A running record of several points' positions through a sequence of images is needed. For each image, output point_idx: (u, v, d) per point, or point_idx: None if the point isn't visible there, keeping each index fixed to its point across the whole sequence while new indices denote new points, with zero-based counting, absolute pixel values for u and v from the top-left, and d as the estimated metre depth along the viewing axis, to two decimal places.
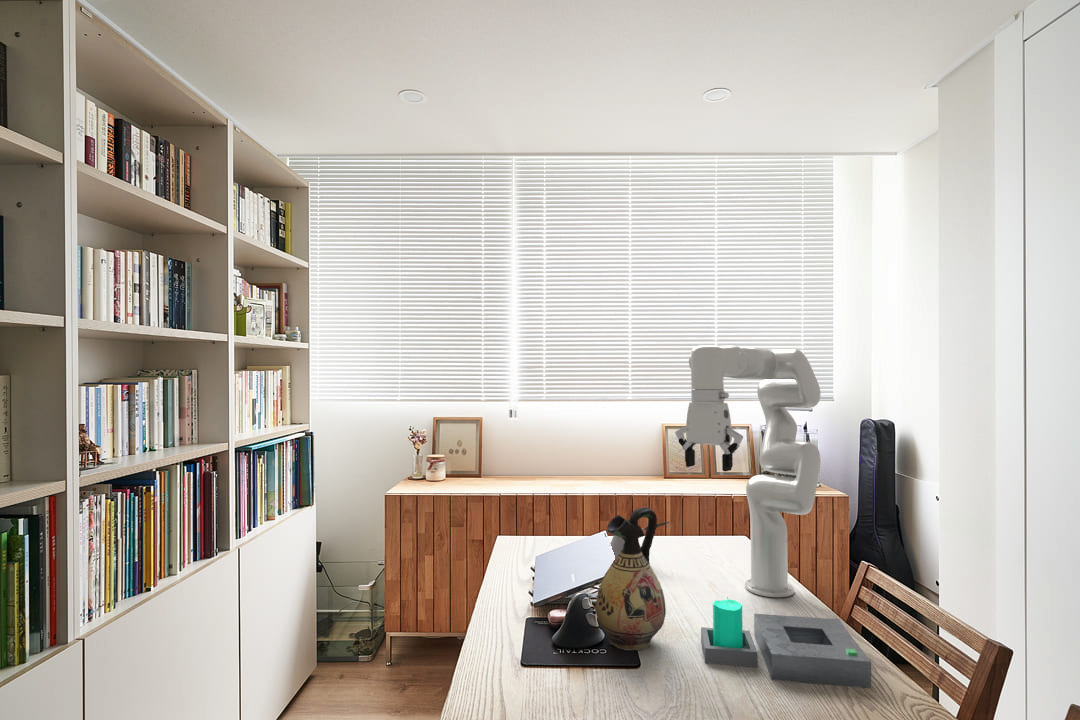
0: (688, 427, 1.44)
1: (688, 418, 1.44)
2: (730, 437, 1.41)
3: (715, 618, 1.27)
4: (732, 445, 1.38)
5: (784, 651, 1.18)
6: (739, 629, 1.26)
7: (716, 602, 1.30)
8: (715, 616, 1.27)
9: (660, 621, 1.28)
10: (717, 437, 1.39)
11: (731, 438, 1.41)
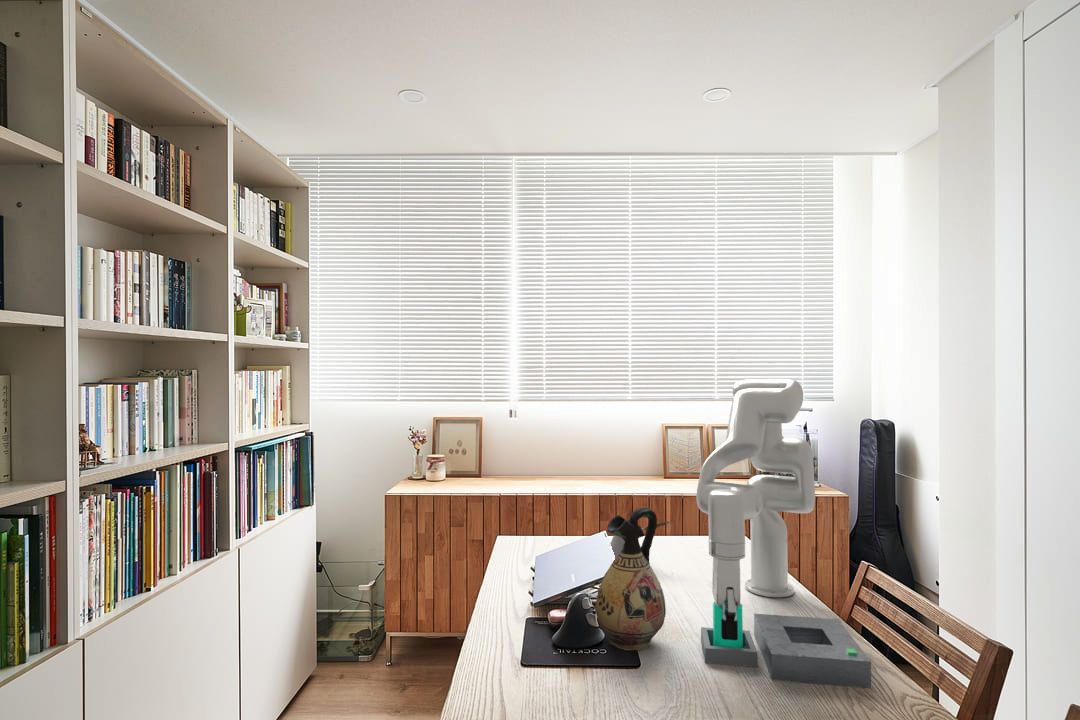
0: None
1: None
2: None
3: (715, 618, 1.27)
4: None
5: (784, 651, 1.18)
6: (739, 629, 1.25)
7: None
8: (715, 616, 1.27)
9: (660, 621, 1.28)
10: None
11: None
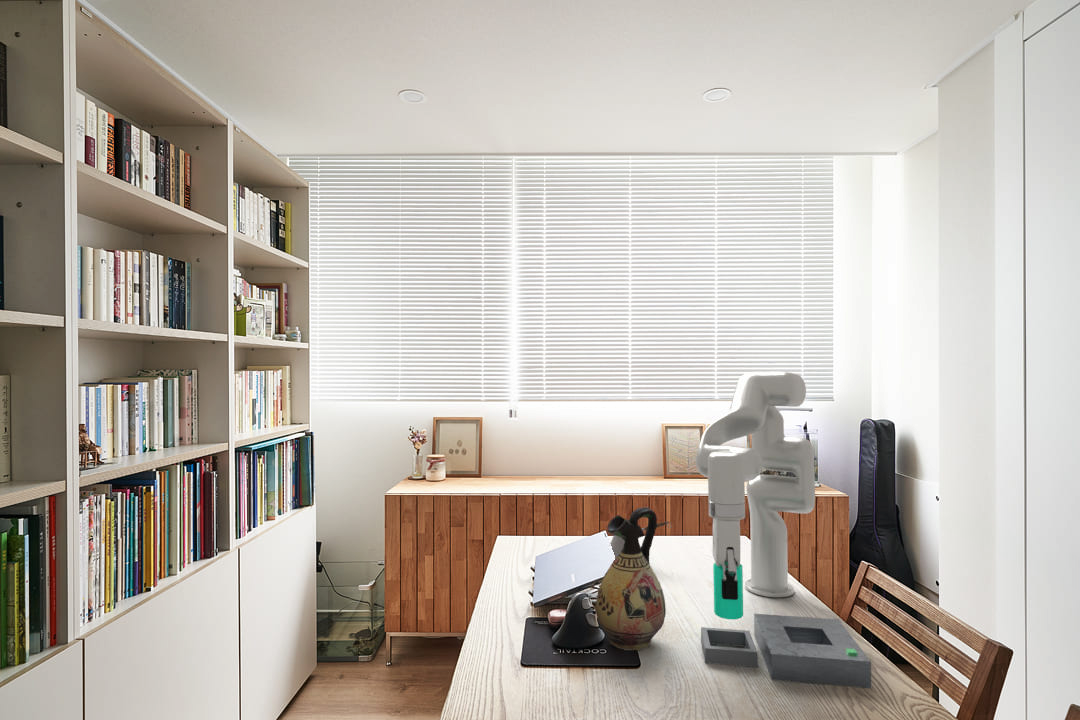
0: None
1: None
2: None
3: (715, 579, 1.28)
4: None
5: (784, 651, 1.18)
6: (739, 589, 1.26)
7: None
8: (715, 577, 1.28)
9: (660, 621, 1.28)
10: None
11: None
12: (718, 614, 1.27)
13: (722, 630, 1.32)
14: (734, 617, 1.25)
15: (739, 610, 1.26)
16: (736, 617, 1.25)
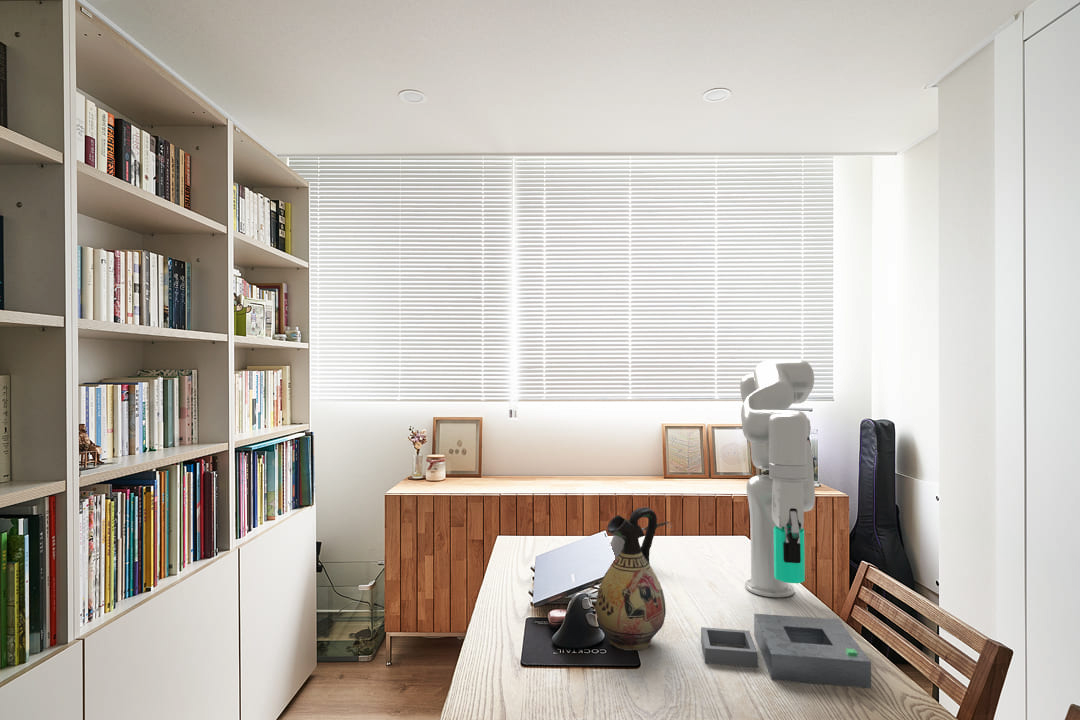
0: (803, 511, 1.22)
1: (803, 501, 1.22)
2: None
3: (776, 542, 1.25)
4: None
5: (784, 651, 1.18)
6: (802, 552, 1.24)
7: (776, 527, 1.28)
8: (776, 540, 1.25)
9: (660, 621, 1.28)
10: None
11: None
12: (779, 578, 1.25)
13: (722, 630, 1.32)
14: (796, 581, 1.23)
15: (801, 574, 1.23)
16: (798, 581, 1.23)
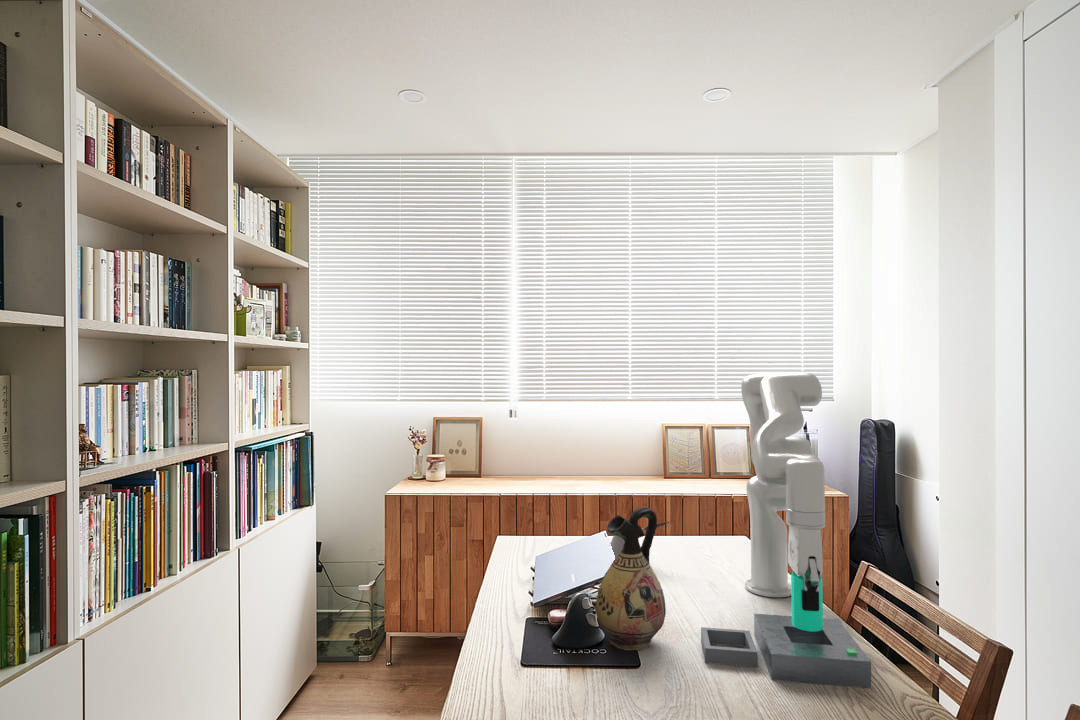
0: (822, 559, 1.21)
1: None
2: None
3: (794, 589, 1.24)
4: None
5: (784, 651, 1.18)
6: (820, 600, 1.22)
7: (794, 573, 1.27)
8: (794, 587, 1.24)
9: (660, 621, 1.28)
10: None
11: None
12: (797, 626, 1.23)
13: (722, 630, 1.32)
14: (815, 629, 1.22)
15: (820, 622, 1.22)
16: (817, 629, 1.22)
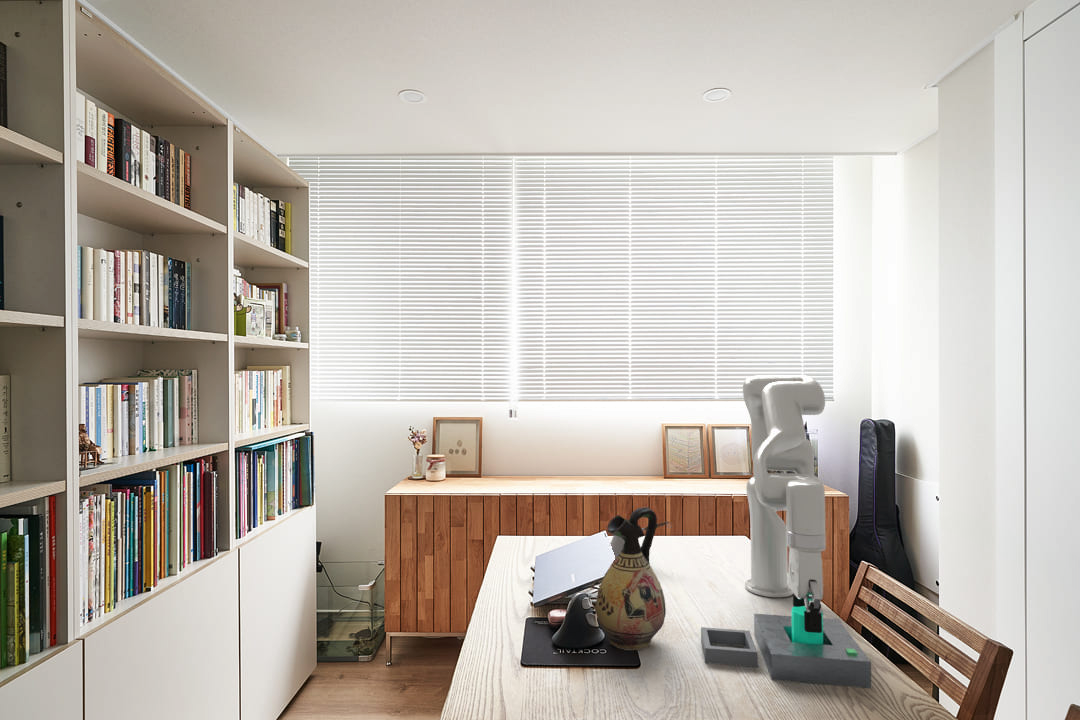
0: (822, 582, 1.21)
1: None
2: None
3: (794, 625, 1.24)
4: None
5: (784, 651, 1.18)
6: (820, 637, 1.22)
7: (794, 608, 1.26)
8: (794, 623, 1.24)
9: (660, 621, 1.28)
10: None
11: None
12: None
13: (722, 630, 1.32)
14: None
15: None
16: None
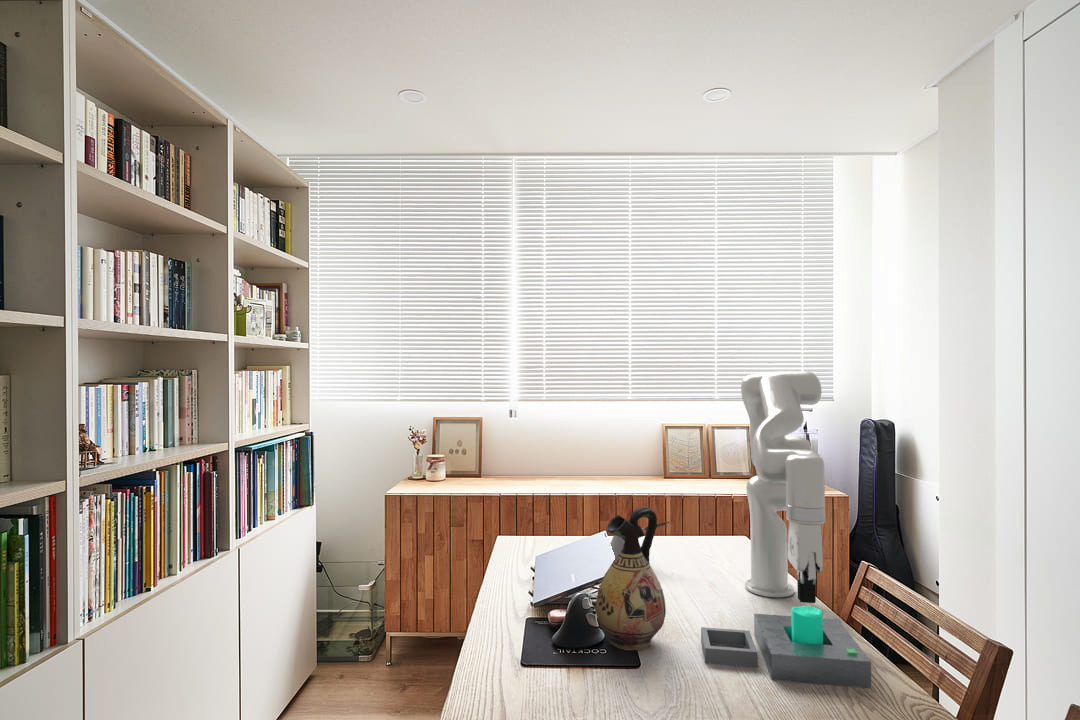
0: None
1: (821, 544, 1.21)
2: None
3: (794, 625, 1.24)
4: None
5: (784, 651, 1.18)
6: (820, 637, 1.22)
7: (794, 608, 1.26)
8: (794, 623, 1.24)
9: (660, 621, 1.28)
10: None
11: None
12: None
13: (722, 630, 1.32)
14: None
15: None
16: None
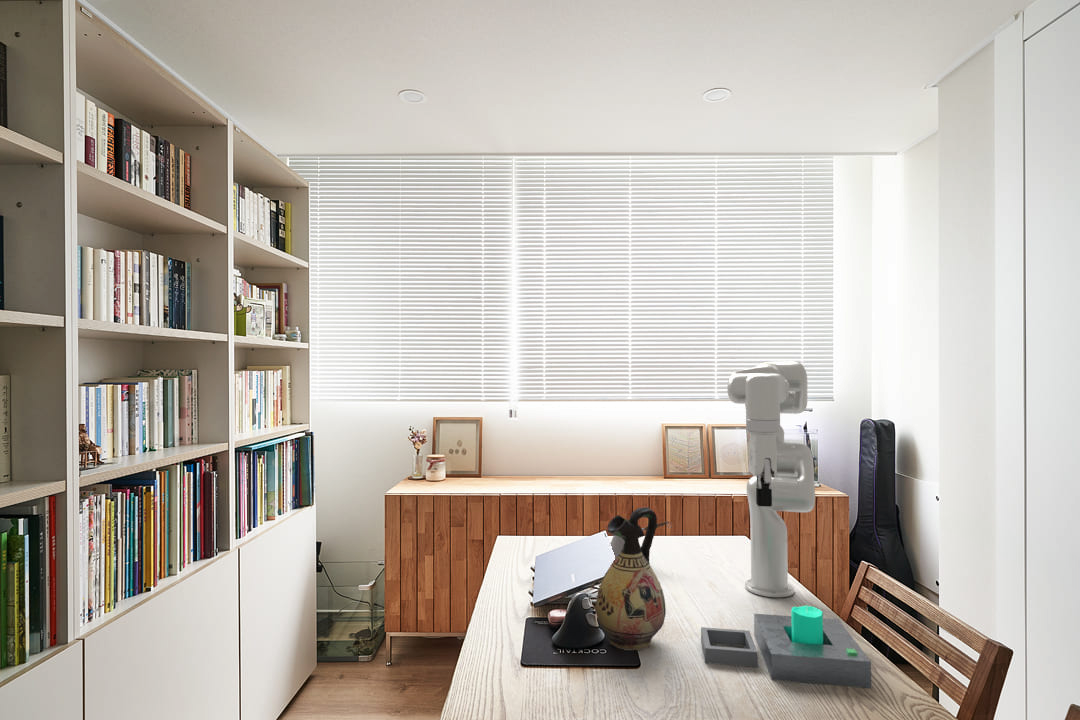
0: (776, 461, 1.35)
1: (776, 451, 1.35)
2: None
3: (794, 625, 1.24)
4: None
5: (784, 651, 1.18)
6: (820, 637, 1.22)
7: (794, 608, 1.26)
8: (794, 623, 1.24)
9: (660, 621, 1.28)
10: None
11: None
12: None
13: (722, 630, 1.32)
14: None
15: None
16: None
